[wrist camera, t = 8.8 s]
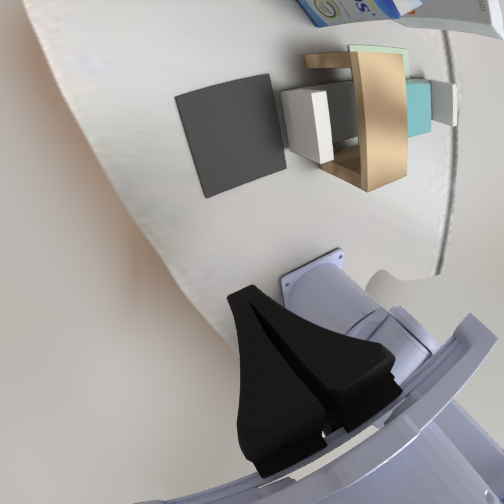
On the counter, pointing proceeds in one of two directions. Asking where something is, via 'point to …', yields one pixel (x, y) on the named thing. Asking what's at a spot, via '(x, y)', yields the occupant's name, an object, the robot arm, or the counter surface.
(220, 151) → the pad
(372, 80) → the tunnel
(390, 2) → the medicine box
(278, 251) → the counter surface
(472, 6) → the skincare box
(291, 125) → the sled
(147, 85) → the counter surface
